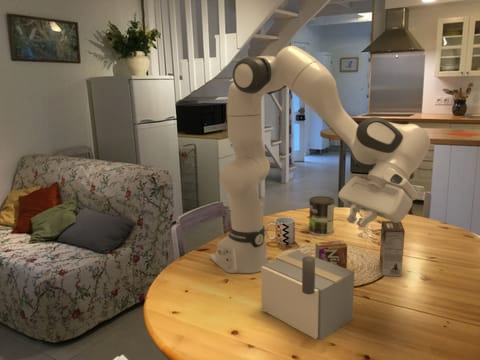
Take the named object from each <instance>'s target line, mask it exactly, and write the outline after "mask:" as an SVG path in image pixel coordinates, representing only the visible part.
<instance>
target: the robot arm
mask: <svg viewBox="0 0 480 360" xmlns="http://www.w3.org/2000/svg"><path fill="white" fill-rule="evenodd" d="M335 79H336V78H334V76H333V75H332V73H331V72H330V71H329V69H328V68H327V67H325V66H324V64H322V63H321V62H320V61H319V60H318V59H316V58H315V57H314V56H312V55H311V54H310V53H308V52H307V51H305V50H303V49H302V48H299V47H298V46H295V45H289V46H285V47H283V48H282V49H281V50H279V52H278V53H277V54H276V55H275V56H273V55H261V56H260V55H259V56H247V57H244V58H242V59H240V60H239V61H237V62H236V63H235V65H234V67H233V70H232V80H233V82H232V83H230V86H229V87H228V92H227V99H226V101H227V103H226V104H227V105H226V114H227V115H226V116H227V118H226V119H227V136H228V137H227V139H228V141H229V142H230V144H231V146H232V148H233V152H234V156H235V157H234V160H231V161H230V162H228V163H227V164H226V165H225V166H224V167H223V168H222V170H221V171H220V174H219V184H220V186H221V187H222V189H223V190H224V191H225V192H226V194H227V197H228V200H229V205H230V216H231V217H230V219H231V222H230V223H231V225H230V226H227V227H226V231H228V234H227V236H225V237H224V238H222V239H221V240H220V241H218V242H217V245H216V251H215V252H213V253H212V254H211V255H210V256H209V257H210V258H209V259H210V260H211V261H213V262H214V263H215V264H216V265H217V266H219V267H220V269H222V270H224V271H225V272H227V274H238V273H239V274H255V273H258V272H261V267H262V266H263V265H264V264H267V263H269V254H268V252H267V246H266V245H267V244H266V238H265V237H266V229H265V227H266V226H265V225H264V204H263V202H261V200H260V196H259V193H258V185H259V184H260V183H262V182H263V181H264V180H265V179H266V178H267V176H268V175H269V172H270V169H271V165H270V164H271V163H270V161H269V159H268V157H267V156H266V150H265V146H264V142H263V135H262V134H263V131H262V129H263V128H262V105H261V104H262V103H261V102H262V98H263V97H264V95H266V94H267V95H271V94H275V93H277V92H279V91H282V90H283V89H286V88H288V89H289V90H290V91H291V92H292V93H293V94H294V95H295V96H296V97H297V98H299V99H300V100H301V101H302V102H303V103H304V104H305V105H306V106H308V107H309V108H310V109H311V110H312V111H313V112H314V113H315V114H316V115H317V116H318V117H319V118H320V119H321V120H322V121H323V122H324V123H325V124H326V126H327V127H328V128H329V129H330V130H332V132H333V133H334V134H335V135H336V136H337V137H338V138H339V140H341V141H342V142H343V143H344V144H345V146H346V147H347V148H348V150H349V152H350V155H351V158H352V159H353V161H354V163H355V164H356V165H357V166H358V167H360V168H363V169H366V170H370V172H369V173H368V175H365V174H364V173H360V174H357V175H354V177H352V178H350V180H348V182H346V183H345V185H343V187H342V188H341V189H340V191H339V192H338V196H337V197H338V198H339V199H340V200H341V202H342V203H344V204H346V205H348V206H350V208H349V214H348V216H347V217H346V220H347V222H348V223H350V224H355V223H356V225H358V227H360V228H362V229H365V228H366V226H367V225H368V224H369V223H372V222H373V221H375V220H376V219H377V217H380V218H383V219H386V221H393V222H395V223H398V222H400V221H401V222H402V221H403V220H404V219H405V217H406V216H407V215H408V213H409V212H410V210H411V208H412V206H413V201H415V200H416V199H417V198H418V196H419V194H418V192H417V190H416V189H415V187H413V185H412V184H411V183H410V182H409V181H410V177H411V175H412V173H414V171H416V170H417V169H418V167H419V166H420V165H421V164H422V162H423V160H424V159H425V157H426V155H427V154H428V152H429V150H430V146H431V138H430V135H428V133H427V132H426V131H425V129H424V128H423V127H421V126H419V125H417V124H414V123H408V124H407V123H406V124H401V123H395V122H390V121H388V120H386V119H384V118H382V117H378V116H372V117H368V118H366V119H364V120H362V121H361V122H360V123H359V124H358V123H357V122H356V121H355V120H354V119H353V118H352V117H351V116H350V115H349V114H348V113H347V111H346V110H345V108H343V106H342V103H341V100H340V97H339V92H338V87H337V82H336V80H335ZM360 211H364V212H367V214H366V215H365V216H363V217H359V219H358V217H357V213H360Z"/></svg>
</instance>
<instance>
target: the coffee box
mask: <svg viewBox="0 0 480 360" xmlns="http://www.w3.org/2000/svg"><path fill="white" fill-rule="evenodd" d="M380 228H381V230H380V245H379V246H380V250H379V267H380V271H381V275H382V276H389V277H402V275H403V274H402V272H403V260H404V258H403V257H404V245H405V234H406V232H405V228H404V225H403V223H402V221H400V222H398V223H395V222H393V221H390V220H382V221H381V227H380Z"/></svg>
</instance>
